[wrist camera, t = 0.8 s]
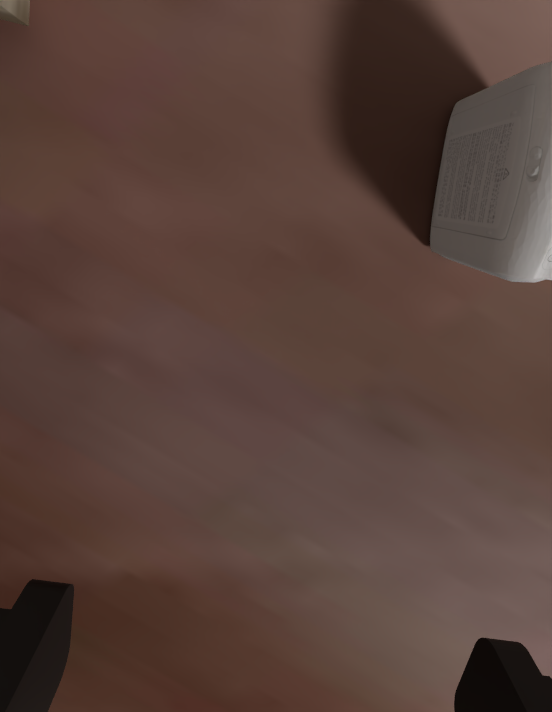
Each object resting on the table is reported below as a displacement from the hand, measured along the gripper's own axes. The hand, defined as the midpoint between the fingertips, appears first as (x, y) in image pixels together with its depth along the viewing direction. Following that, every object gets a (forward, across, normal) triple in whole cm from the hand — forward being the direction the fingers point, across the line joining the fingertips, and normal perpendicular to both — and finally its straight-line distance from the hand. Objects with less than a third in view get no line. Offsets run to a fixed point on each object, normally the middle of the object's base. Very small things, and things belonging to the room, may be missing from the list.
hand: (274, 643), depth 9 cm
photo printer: (+27, -12, -12) cm, 31 cm away
